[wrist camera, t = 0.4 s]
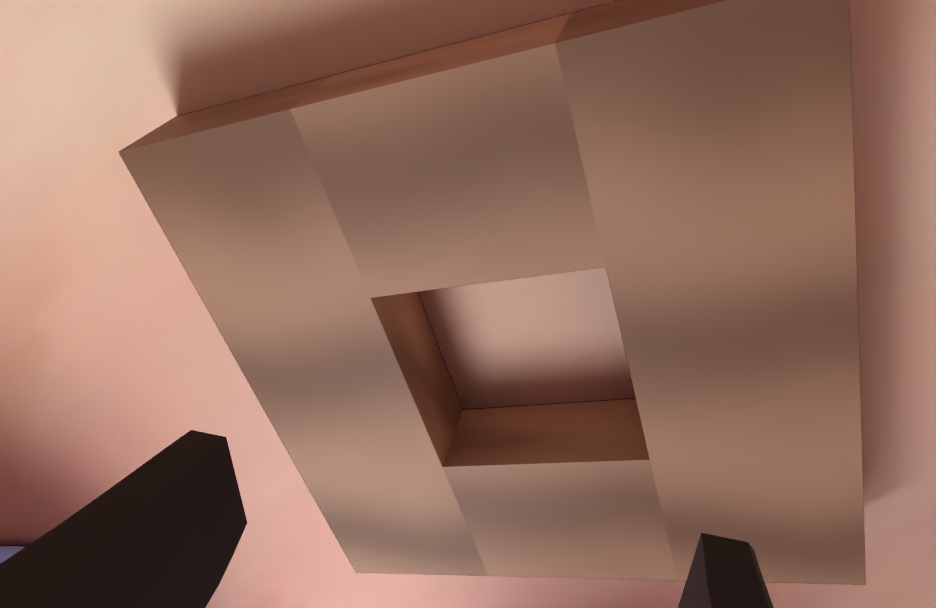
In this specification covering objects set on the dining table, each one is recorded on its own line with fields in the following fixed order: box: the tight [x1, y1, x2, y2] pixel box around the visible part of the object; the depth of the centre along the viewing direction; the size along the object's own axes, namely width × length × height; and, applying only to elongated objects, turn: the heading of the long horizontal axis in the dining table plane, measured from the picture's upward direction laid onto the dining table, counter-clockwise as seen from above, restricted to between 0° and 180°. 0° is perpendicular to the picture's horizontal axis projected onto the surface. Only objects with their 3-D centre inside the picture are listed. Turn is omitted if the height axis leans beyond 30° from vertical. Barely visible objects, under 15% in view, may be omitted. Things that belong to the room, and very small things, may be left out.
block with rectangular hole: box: [119, 0, 866, 585], centre depth 20 cm, size 16×16×2 cm
